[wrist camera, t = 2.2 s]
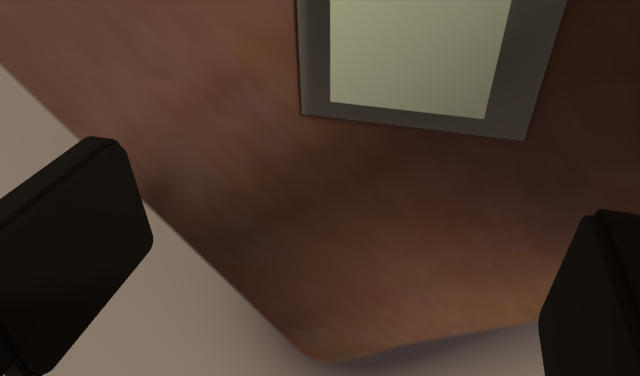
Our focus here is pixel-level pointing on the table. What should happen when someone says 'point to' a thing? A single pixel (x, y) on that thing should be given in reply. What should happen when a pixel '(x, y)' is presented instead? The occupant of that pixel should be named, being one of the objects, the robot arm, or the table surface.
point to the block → (416, 53)
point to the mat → (499, 121)
